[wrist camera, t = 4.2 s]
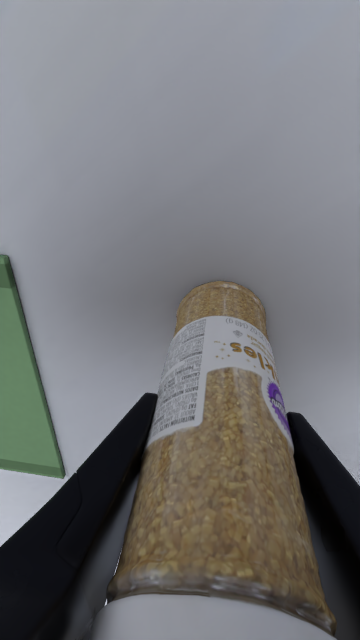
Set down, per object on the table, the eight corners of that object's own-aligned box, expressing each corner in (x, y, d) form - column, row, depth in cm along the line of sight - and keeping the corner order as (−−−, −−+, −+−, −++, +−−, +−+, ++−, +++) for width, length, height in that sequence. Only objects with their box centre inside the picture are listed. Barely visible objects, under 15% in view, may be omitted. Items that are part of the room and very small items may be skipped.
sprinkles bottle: (283, 321, 15) (484, 913, 4) (215, 365, 17) (204, 831, 6) (223, 257, 13) (236, 898, 2) (157, 313, 16) (-15, 793, 4)
